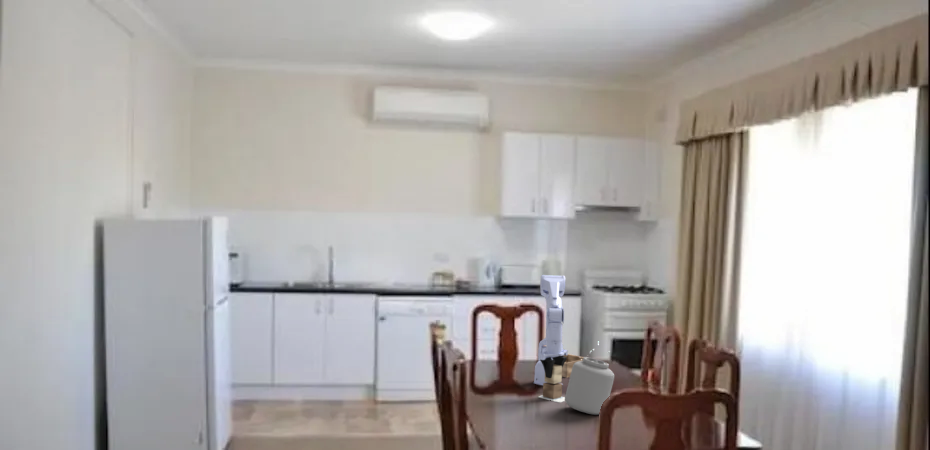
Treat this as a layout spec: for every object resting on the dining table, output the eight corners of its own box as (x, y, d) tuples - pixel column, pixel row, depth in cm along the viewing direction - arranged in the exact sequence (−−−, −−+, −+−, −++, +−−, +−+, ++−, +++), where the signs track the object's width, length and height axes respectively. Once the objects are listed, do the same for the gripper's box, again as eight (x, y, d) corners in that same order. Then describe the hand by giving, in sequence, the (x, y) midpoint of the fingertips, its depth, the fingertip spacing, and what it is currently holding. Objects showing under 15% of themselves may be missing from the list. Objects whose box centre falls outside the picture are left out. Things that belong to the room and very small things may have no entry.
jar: (611, 406, 269) (614, 337, 268) (623, 418, 255) (626, 345, 254) (560, 406, 268) (562, 336, 267) (569, 418, 253) (572, 345, 252)
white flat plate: (537, 397, 279) (537, 396, 279) (549, 394, 284) (549, 393, 284) (559, 402, 272) (559, 401, 272) (570, 399, 277) (570, 398, 277)
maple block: (544, 381, 278) (544, 365, 278) (551, 379, 281) (552, 363, 281) (554, 383, 275) (554, 367, 275) (561, 381, 278) (562, 365, 278)
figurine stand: (544, 372, 320) (544, 358, 319) (567, 367, 331) (567, 353, 331) (566, 377, 311) (567, 363, 311) (589, 372, 322) (589, 358, 322)
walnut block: (542, 396, 279) (543, 383, 278) (551, 394, 282) (551, 381, 282) (553, 399, 275) (553, 385, 275) (561, 397, 279) (562, 383, 278)
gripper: (550, 344, 270) (549, 381, 270) (574, 339, 280) (573, 375, 281) (535, 341, 275) (534, 377, 275) (559, 336, 285) (558, 372, 286)
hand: (552, 376), depth 278 cm, fingers open, 5 cm apart
